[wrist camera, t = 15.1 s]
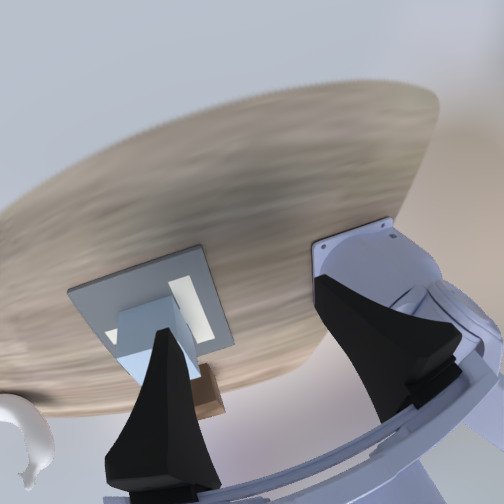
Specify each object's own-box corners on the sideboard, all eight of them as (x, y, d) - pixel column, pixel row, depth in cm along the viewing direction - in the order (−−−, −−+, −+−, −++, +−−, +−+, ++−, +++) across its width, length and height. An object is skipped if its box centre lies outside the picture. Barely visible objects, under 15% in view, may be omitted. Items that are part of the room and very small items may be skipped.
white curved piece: (-35, 382, 19) (-48, 461, 7) (44, 384, 23) (38, 491, 11) (-17, 400, 21) (-26, 475, 9) (63, 403, 26) (65, 501, 14)
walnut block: (216, 400, 24) (225, 412, 26) (206, 362, 28) (215, 377, 30) (171, 412, 23) (183, 423, 25) (165, 374, 28) (176, 388, 29)
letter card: (200, 244, 21) (201, 248, 20) (233, 341, 28) (235, 344, 27) (67, 289, 19) (66, 293, 18) (129, 371, 26) (129, 375, 25)
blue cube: (171, 294, 22) (178, 340, 18) (191, 333, 24) (201, 376, 20) (118, 312, 21) (115, 358, 17) (143, 347, 24) (146, 391, 20)
